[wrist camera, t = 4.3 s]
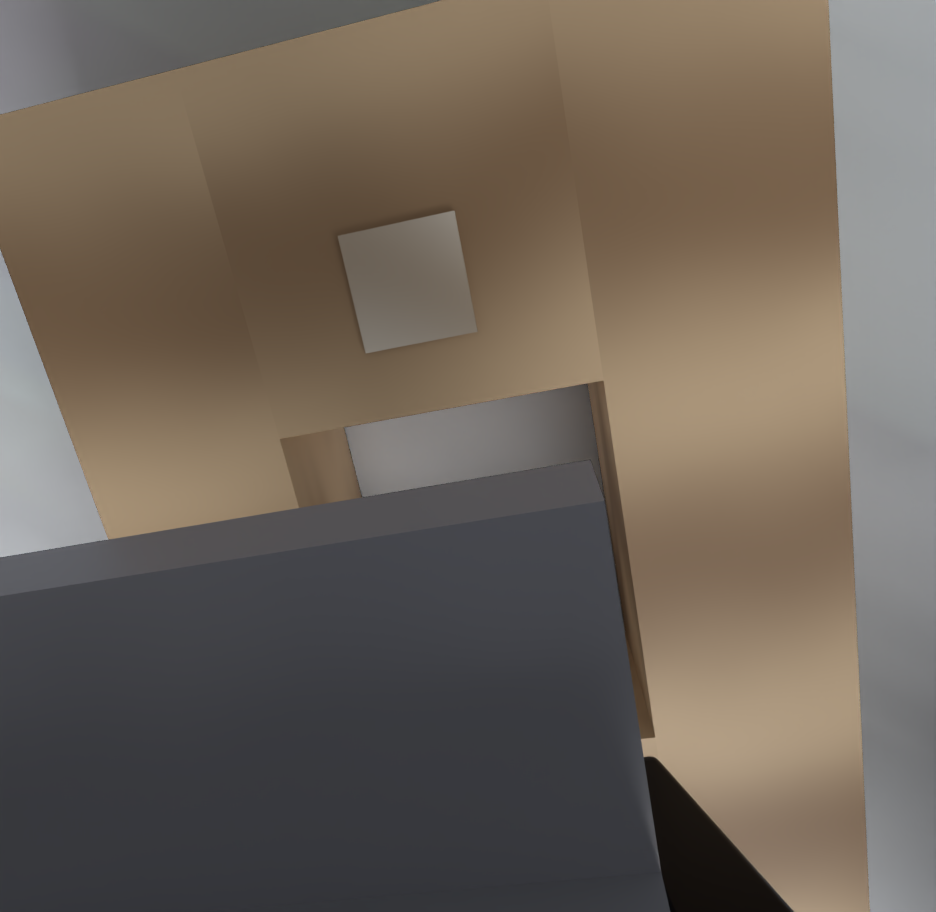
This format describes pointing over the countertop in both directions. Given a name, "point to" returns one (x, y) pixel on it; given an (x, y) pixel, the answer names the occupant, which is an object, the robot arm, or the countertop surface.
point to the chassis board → (500, 329)
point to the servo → (330, 712)
